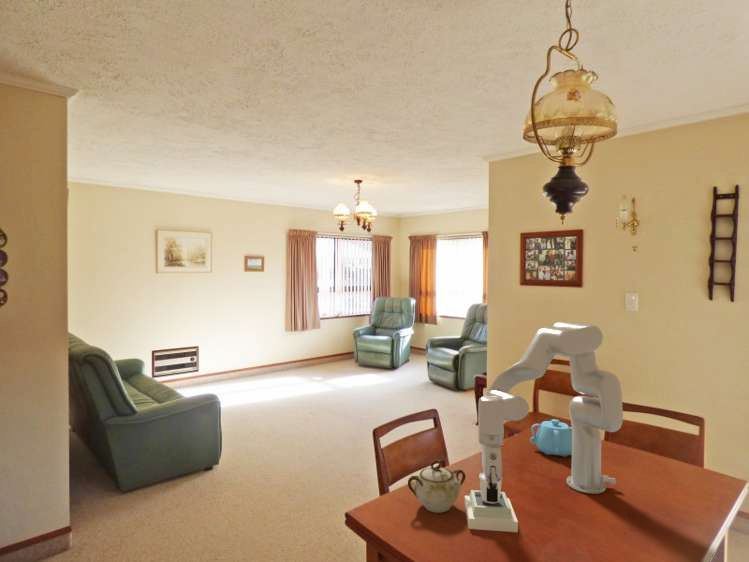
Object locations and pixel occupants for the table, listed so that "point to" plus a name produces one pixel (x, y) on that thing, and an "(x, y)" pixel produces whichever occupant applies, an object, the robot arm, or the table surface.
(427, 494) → the sugar bowl
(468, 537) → the table surface
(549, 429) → the decorative pot
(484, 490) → the white short cylinder
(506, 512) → the stand
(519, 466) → the table surface
